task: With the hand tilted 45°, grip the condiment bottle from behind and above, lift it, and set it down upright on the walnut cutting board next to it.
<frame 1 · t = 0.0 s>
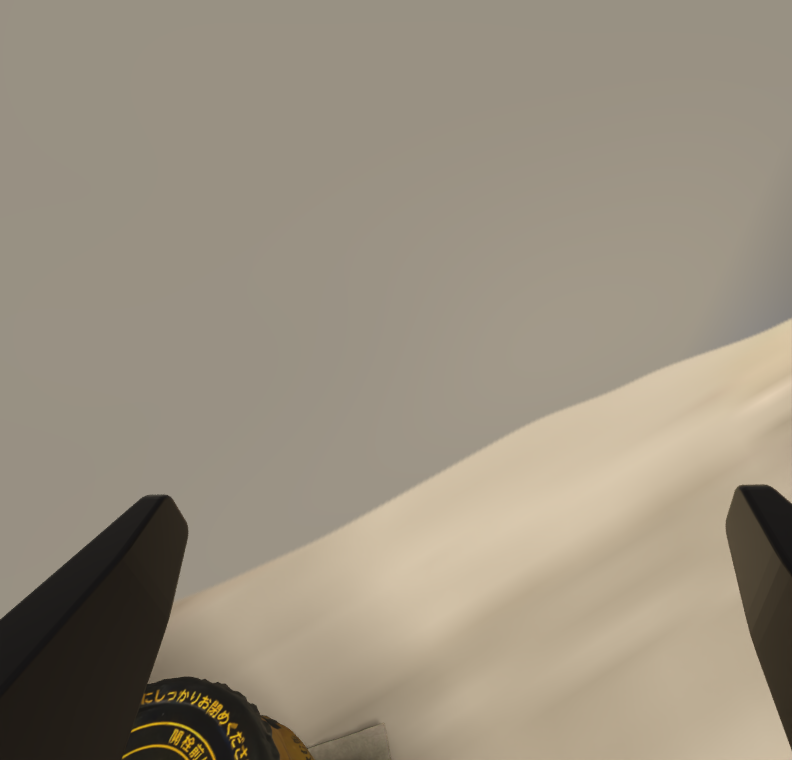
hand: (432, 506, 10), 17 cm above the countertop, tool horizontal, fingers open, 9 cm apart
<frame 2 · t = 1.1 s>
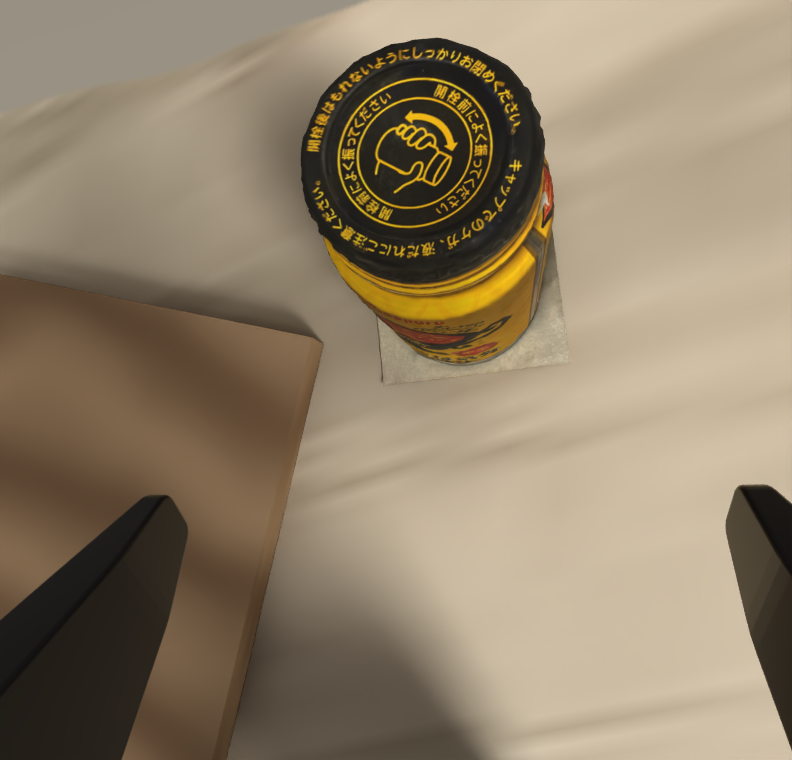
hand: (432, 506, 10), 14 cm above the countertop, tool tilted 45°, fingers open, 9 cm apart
walnut board: (102, 510, 26), on the countertop
condiment: (462, 272, 24), on the countertop
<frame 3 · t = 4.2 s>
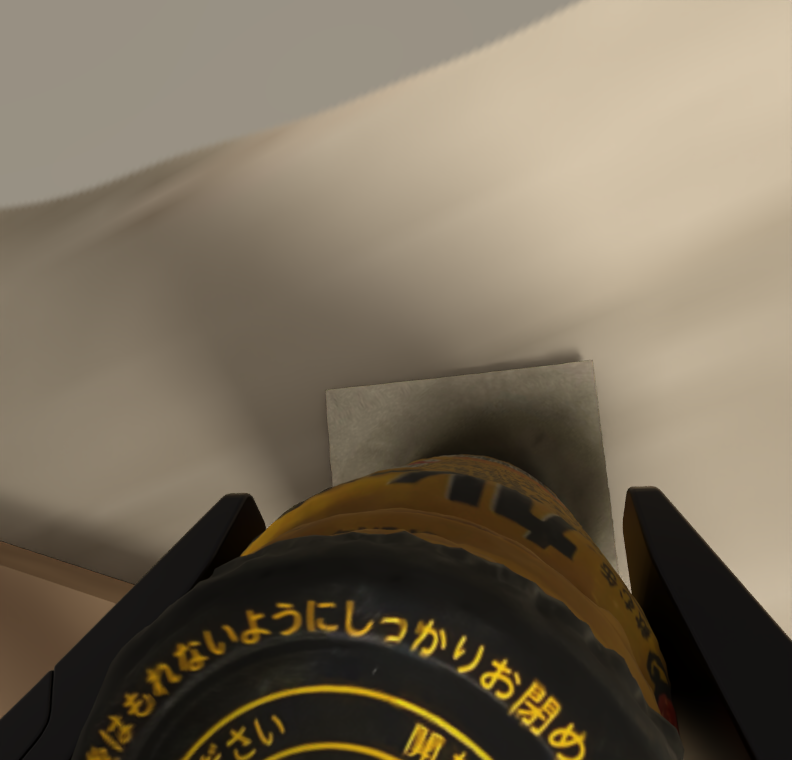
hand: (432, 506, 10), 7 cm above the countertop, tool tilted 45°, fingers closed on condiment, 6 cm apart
condiment: (470, 531, 16), on the countertop, touching gripper
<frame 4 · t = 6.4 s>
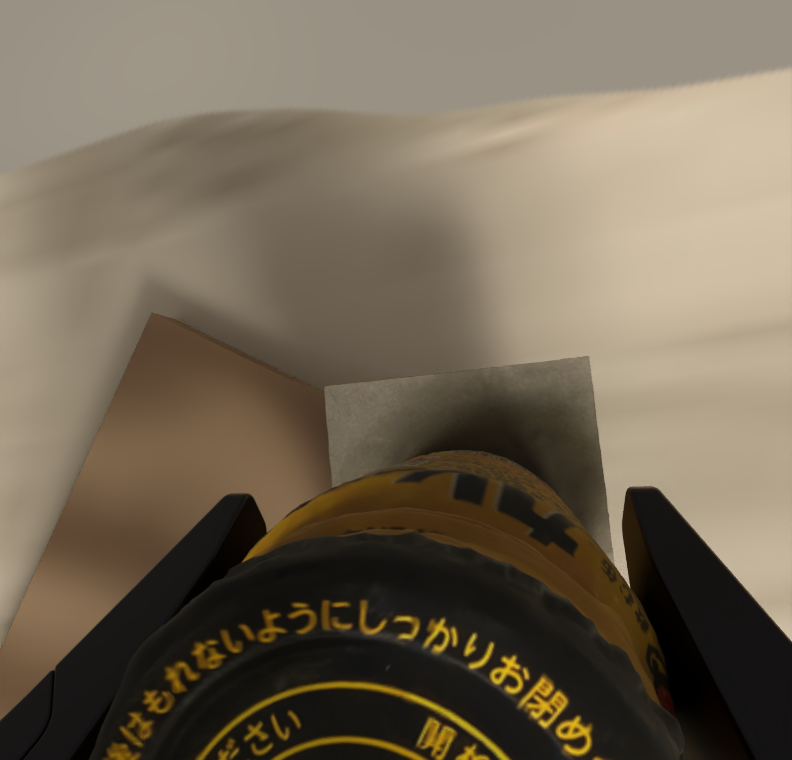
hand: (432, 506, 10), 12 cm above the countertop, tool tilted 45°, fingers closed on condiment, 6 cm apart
walnut board: (249, 619, 22), on the countertop
condiment: (468, 526, 16), point 5 cm above the countertop, touching gripper
when the fingers open (9 cm above the countertop, at t = 8.6 s): condiment stays where it is, resting on walnut board.
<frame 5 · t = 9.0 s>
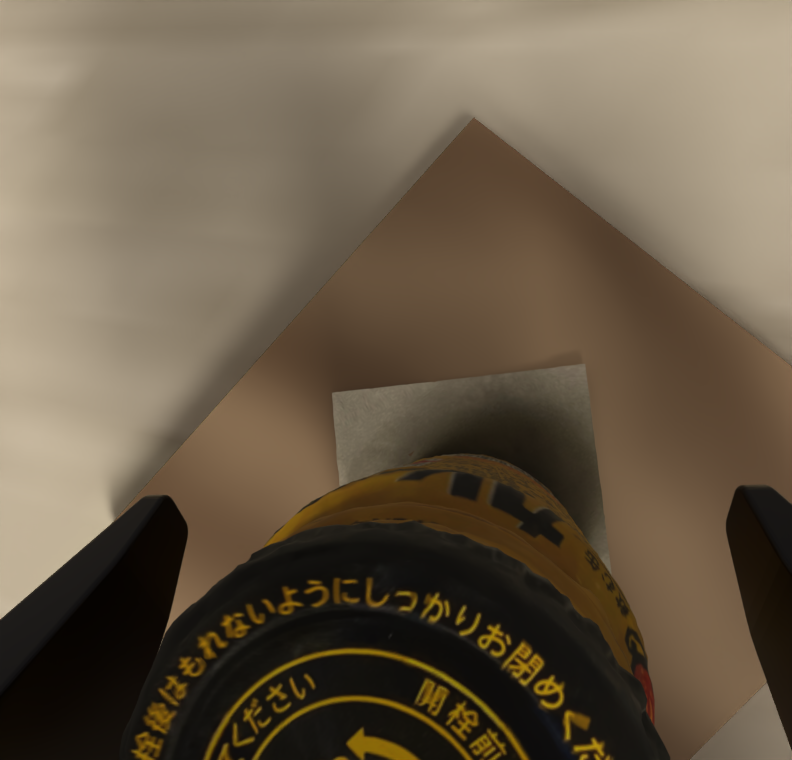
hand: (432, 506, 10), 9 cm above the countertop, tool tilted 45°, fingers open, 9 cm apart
walnut board: (470, 518, 18), on the countertop
condiment: (470, 526, 17), point 1 cm above the countertop, touching walnut board
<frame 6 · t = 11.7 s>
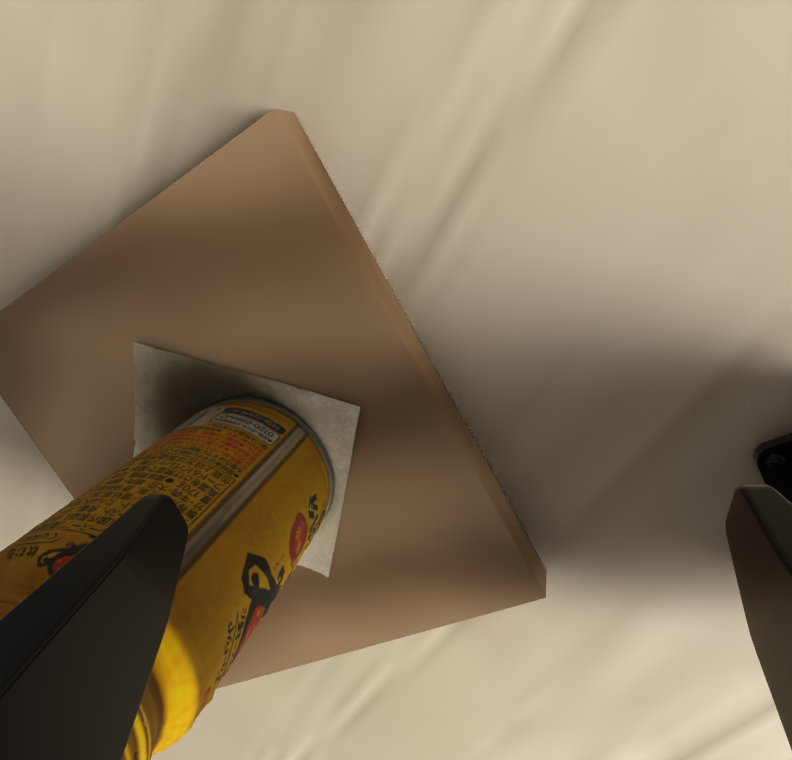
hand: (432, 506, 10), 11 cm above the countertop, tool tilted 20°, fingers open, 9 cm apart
walnut board: (254, 443, 23), on the countertop
condiment: (240, 457, 22), point 1 cm above the countertop, touching walnut board
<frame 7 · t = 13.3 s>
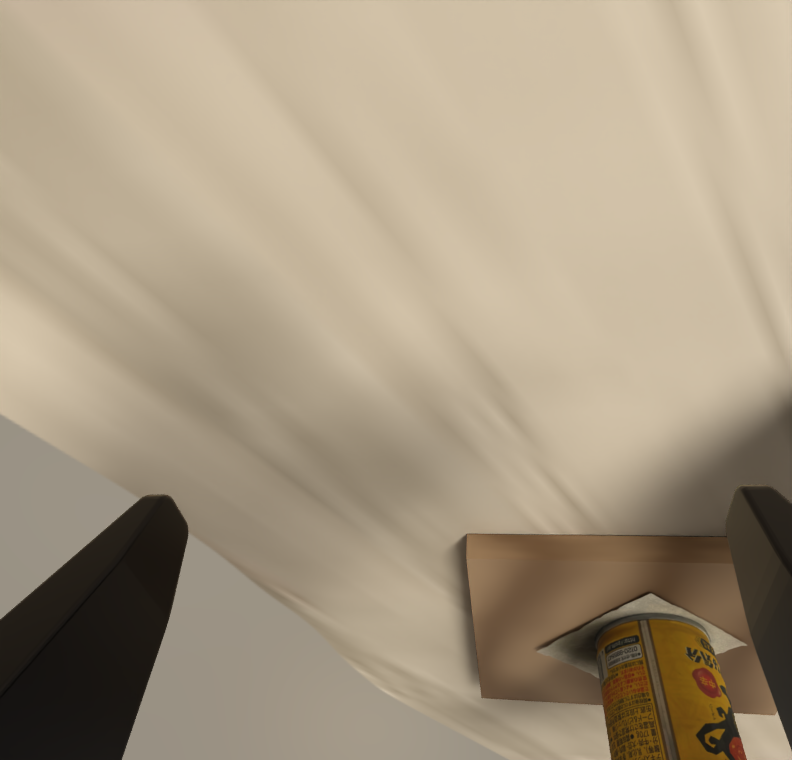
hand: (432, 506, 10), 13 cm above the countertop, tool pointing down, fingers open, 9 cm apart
walnut board: (631, 619, 35), on the countertop
condiment: (635, 640, 34), point 1 cm above the countertop, touching walnut board
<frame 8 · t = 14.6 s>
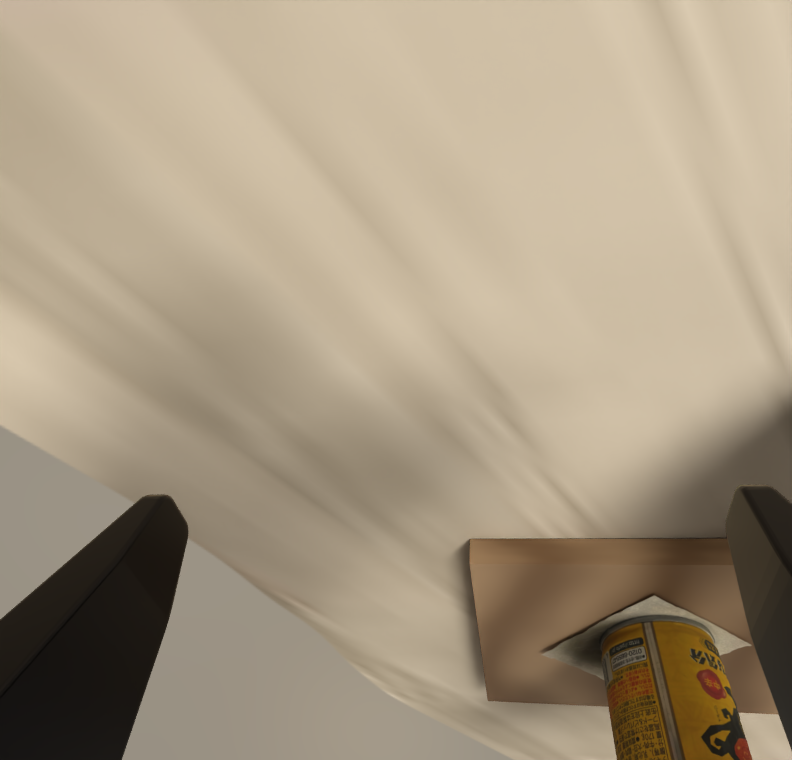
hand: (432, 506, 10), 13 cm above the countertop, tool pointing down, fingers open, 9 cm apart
walnut board: (635, 621, 35), on the countertop
condiment: (640, 641, 34), point 1 cm above the countertop, touching walnut board
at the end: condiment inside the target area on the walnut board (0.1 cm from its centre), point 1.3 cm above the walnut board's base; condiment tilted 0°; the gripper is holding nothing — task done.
